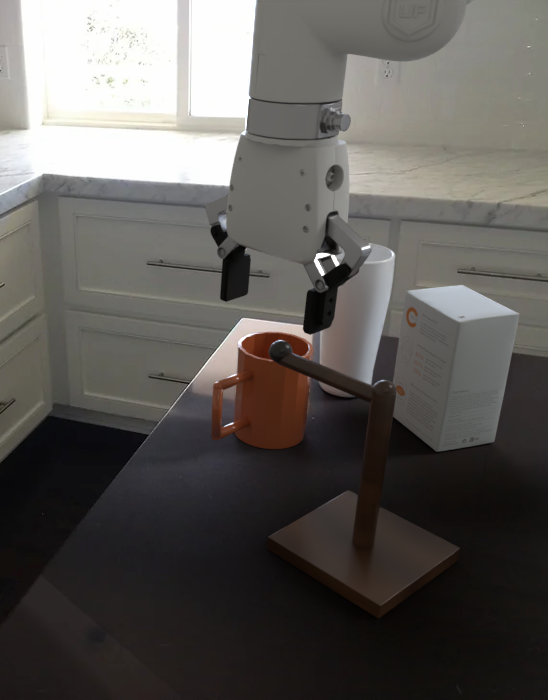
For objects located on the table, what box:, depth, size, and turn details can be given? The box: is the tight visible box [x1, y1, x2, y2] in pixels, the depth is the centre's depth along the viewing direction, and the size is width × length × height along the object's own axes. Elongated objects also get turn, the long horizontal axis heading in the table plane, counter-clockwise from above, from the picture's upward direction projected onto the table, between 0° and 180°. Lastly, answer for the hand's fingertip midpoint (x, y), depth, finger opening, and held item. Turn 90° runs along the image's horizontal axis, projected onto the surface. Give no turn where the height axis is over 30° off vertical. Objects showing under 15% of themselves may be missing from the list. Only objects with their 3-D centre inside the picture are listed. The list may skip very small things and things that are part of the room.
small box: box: [392, 284, 520, 453], centre depth 80 cm, size 8×6×13 cm
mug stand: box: [266, 340, 461, 619], centre depth 65 cm, size 10×15×15 cm, turn 38°
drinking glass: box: [318, 242, 396, 398], centre depth 88 cm, size 7×7×15 cm
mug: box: [210, 331, 314, 450], centre depth 80 cm, size 11×7×9 cm, turn 128°
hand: (273, 313), depth 78 cm, fingers open, 9 cm apart
